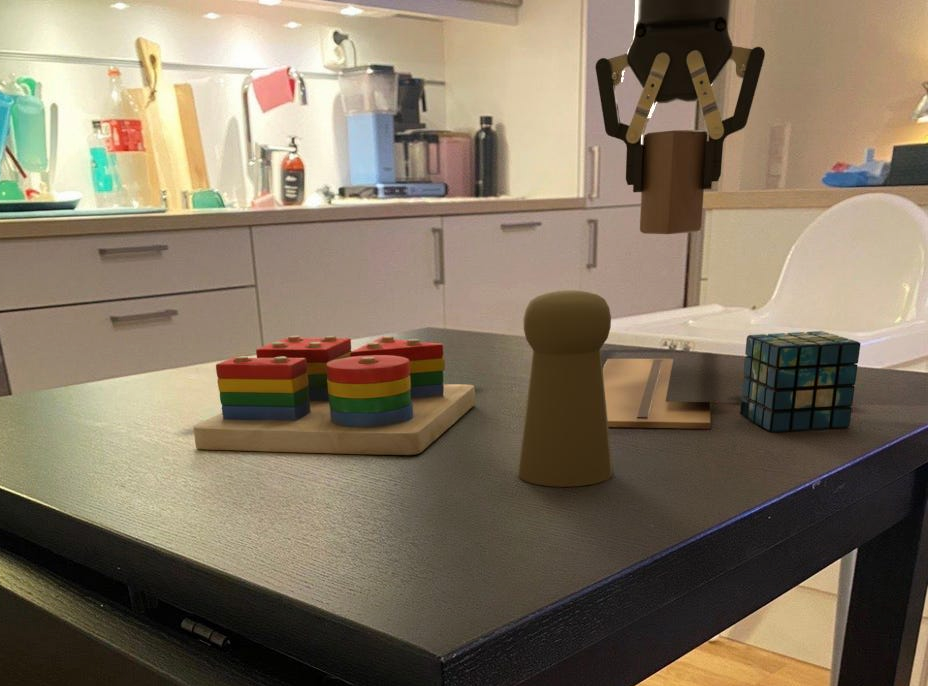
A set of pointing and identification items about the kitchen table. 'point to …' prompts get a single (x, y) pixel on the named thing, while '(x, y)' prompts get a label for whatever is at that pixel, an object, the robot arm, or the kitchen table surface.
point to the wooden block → (673, 181)
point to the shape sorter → (335, 398)
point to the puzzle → (799, 380)
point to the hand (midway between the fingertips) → (671, 189)
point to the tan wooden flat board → (647, 397)
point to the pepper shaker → (566, 391)
